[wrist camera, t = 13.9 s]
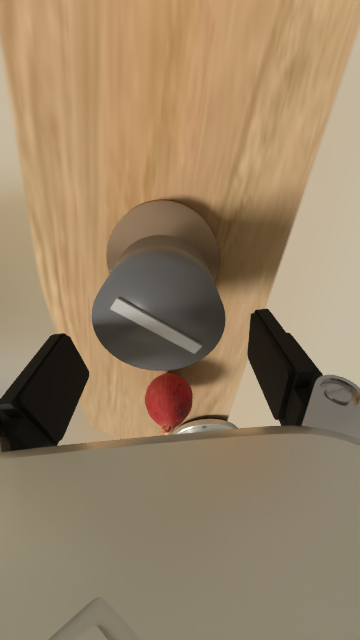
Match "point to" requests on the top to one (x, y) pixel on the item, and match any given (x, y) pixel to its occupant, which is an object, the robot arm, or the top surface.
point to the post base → (164, 230)
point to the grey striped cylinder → (159, 306)
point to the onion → (168, 401)
